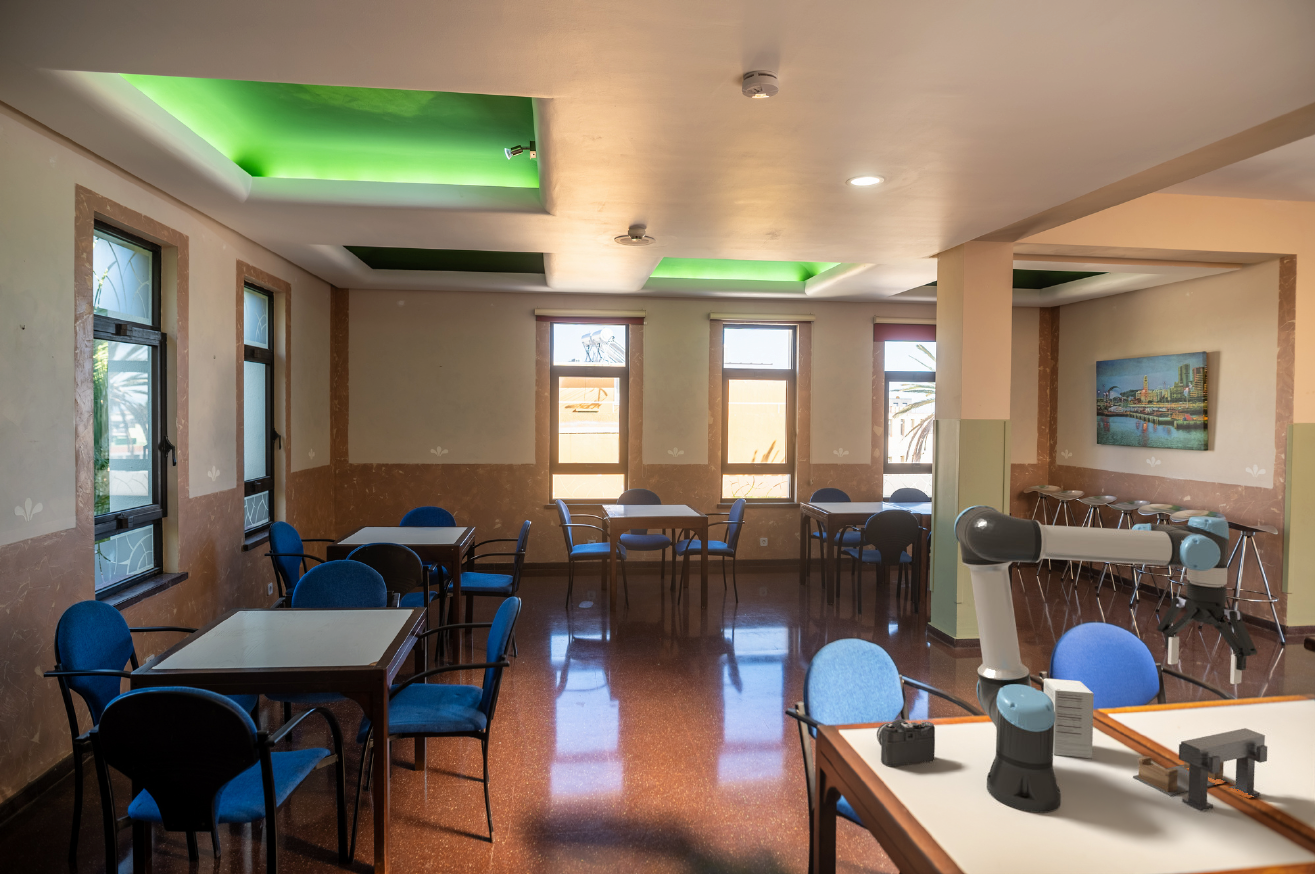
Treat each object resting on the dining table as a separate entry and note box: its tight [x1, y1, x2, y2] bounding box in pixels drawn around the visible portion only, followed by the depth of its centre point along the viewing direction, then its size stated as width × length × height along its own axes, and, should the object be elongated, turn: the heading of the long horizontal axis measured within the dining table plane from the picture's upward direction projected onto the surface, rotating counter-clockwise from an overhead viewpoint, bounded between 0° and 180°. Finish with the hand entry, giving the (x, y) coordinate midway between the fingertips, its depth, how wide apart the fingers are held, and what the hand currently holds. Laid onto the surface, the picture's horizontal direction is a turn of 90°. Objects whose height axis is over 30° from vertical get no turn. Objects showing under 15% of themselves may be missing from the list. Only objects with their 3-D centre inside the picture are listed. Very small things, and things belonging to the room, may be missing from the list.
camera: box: [876, 718, 936, 767], centre depth 182 cm, size 14×11×10 cm
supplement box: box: [1043, 678, 1095, 759], centre depth 187 cm, size 10×9×17 cm
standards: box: [1178, 743, 1268, 812], centre depth 163 cm, size 20×7×12 cm, turn 110°
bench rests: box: [1132, 755, 1230, 797], centre depth 172 cm, size 20×9×5 cm, turn 110°
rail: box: [1180, 727, 1266, 767], centre depth 163 cm, size 22×4×4 cm, turn 110°
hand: (1203, 672), depth 168 cm, fingers open, 13 cm apart
